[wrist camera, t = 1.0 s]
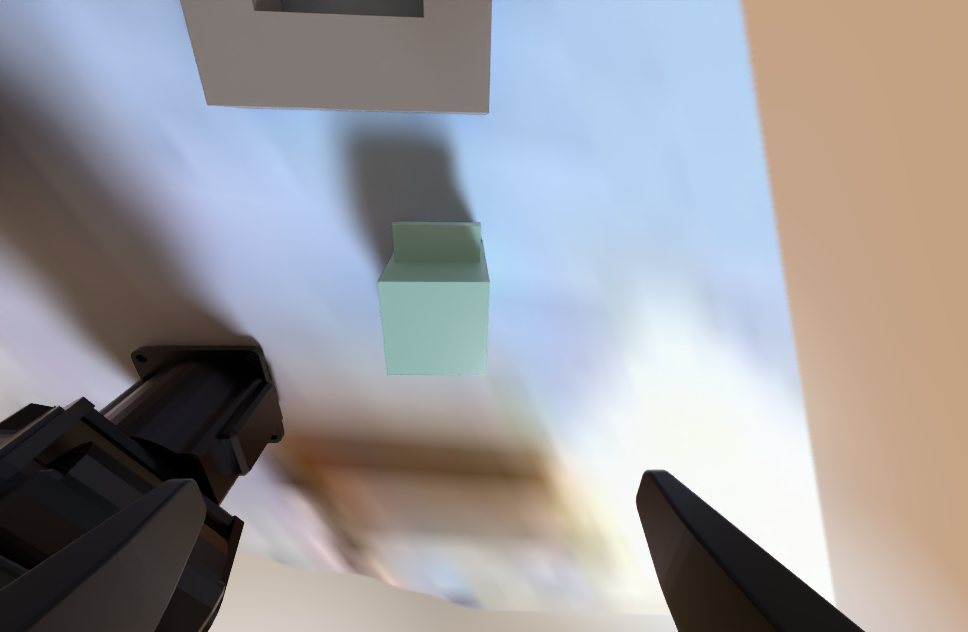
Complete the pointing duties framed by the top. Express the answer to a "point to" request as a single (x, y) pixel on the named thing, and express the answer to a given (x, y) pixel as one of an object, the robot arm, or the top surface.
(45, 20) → the top surface
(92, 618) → the robot arm
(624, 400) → the top surface
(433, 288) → the block
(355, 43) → the pocket plate
